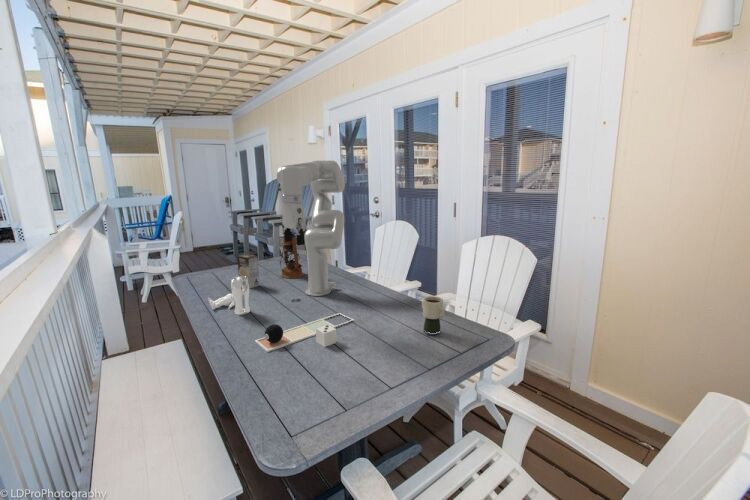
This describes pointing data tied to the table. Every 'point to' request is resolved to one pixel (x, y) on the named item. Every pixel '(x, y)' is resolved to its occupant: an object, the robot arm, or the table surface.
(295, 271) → the lantern
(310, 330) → the board
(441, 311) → the character mug
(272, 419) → the table surface
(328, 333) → the die
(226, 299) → the toy creature
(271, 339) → the billiard ball
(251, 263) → the coffee box
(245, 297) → the beer glass
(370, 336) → the table surface
